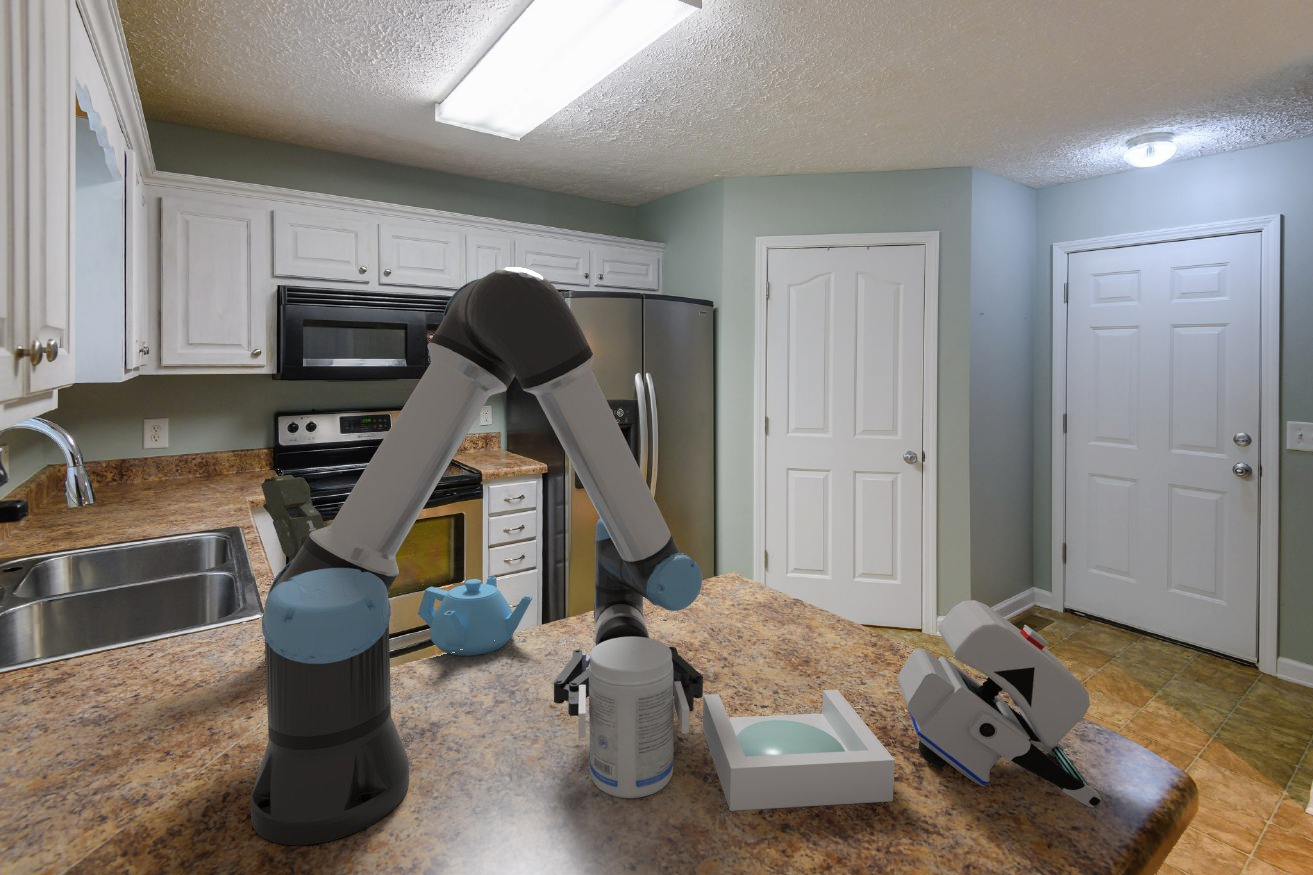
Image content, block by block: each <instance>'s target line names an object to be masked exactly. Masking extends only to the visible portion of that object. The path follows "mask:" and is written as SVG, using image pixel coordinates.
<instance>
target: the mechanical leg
mask: <svg viewBox="0 0 1313 875" xmlns="http://www.w3.org/2000/svg"><path fill="white" fill-rule="evenodd" d="M260 486H261V489H262V494H263V497H264V501H265V503H264V504H263V505H262V507H263V508H264V509H265V511H266V512H267V513H268V514H269V516H270V517H271V519H272V524H273V528H274V530H275V534H276V535H277V540H278V542H279V545H280V547H281V551H282V553H283V554H284V556H285V557H287V558H288V557H289V559H288V560H289V562H288V563H290V562H291V561H292V560H293V559H294V558H295V557H296V555H297V553H298V552H299V550H300V549H301V547H302V545H303V544H304V542H305V541H306V539H307V538H308V536H309V534H310V533H311V532H312V531H315V530H318V529H321V528H324V527H325V524H324V520H323V518H322V514H321V513H320V512H319V510H317V509H316V508H315V506H313V501H312V498H311V488H310V486H309V483H308V482H307V481H306V479H305V478H304V477H302V476H301V477H300V476H298V477H294V476H293V475H292V474H286V475H279V476H278V475H277V476H271V477H270V478H265V479H264V481H263V482H262V483H261V484H260Z"/></svg>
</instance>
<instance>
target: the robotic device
mask: <svg viewBox="0 0 1313 875" xmlns="http://www.w3.org/2000/svg"><path fill="white" fill-rule="evenodd" d="M937 627H938V629H937V630H938V632H939V634H940V635H941V638H942V639H943V640H944V642H945V644H946V645H947V647H948V649H949V650H950V653H952V655H953V657H954V659H956V660H958V661H959V662H960V663H962V664H964V665H966V666H969V667H971V668H972V669H974V670H976V671H978V672H980V673H981V674H982V675H985V676H986V677H987V678H986V681H983V682H982V684H981V683H980V682H978V681H977V680H976V679H974V678H973V677H971V676H970V675H969V674H968V673H966V672H965V671H964V670H962V669H961V668H960V667H958V666H957V665H955V663H953V662H952V661H951V660H950V659H947V658H946V656H944V655H942V656H941V655H940V657H939V658H936V657H935V656H934V655H932V654H931V653H930V652H928V651H927V650H925V649H924V648H921V647H920V648H919V647H918V648H915V649H913V651H912V652H911V653H910V655H909V656H908V658H907V660H906V661H905V663H904V665H903V667H902V668H901V670H900V671H899V672H898V675H897V677H896V679H897V683H898V687H899V689H900V691H901V694H902V697H903V700H904V703H905V706H906V708H907V712H908V714H909V717H910V720H911V722H912V725H913V728H914V730H915V733H916V735H917V739H918V749H919V754H920V755H921V757H923V759H924V760H925V761H926V762H927V763H929V764H931V765H933V766H937V767H939V766H946V765H950V766H952V767H953V768H954V769H956V770H957V771H958V772H959V773H961V774H962V775H963V776H965V777H966V778H967V779H969V780H970V781H972V782H974V783H975V784H977V785H979V786H981V787H983V788H984V787H985V786H986V785H987V784H988V783H989V782H990V773H991V769H992V768H993V767H994V766H995V765H996V763H997V762H998V761H999V760H1001V758H1004V759H1005V760H1007V761H1008V762H1012V763H1014V764H1016V765H1018V766H1019V767H1021V768H1023V769H1025V770H1027V771H1029V772H1030V773H1032V774H1034V775H1036V776H1038V777H1039V778H1042V779H1043V780H1045V781H1047V782H1049V783H1051V784H1052V785H1055V786H1056V787H1058V788H1059V789H1060V790H1062V792H1064V793H1065V794H1067V795H1068V796H1070V797H1071V798H1073V799H1075V800H1076V801H1078V802H1080V803H1082V804H1083V805H1085V806H1086V807H1088V808H1095V806H1098V805H1099V804H1100V803H1101V801H1102V797H1101V795H1100V793H1099V792H1098V791H1097V790H1095V789H1094V788H1092V787H1091V786H1090V785H1089V784H1088V783H1087V781H1086V780H1085V779H1084V777H1083V776H1082V774H1081V773H1080V772H1079V770H1078V769H1077V768H1076V766H1075V764H1073V762H1072V761H1071V759H1069V757H1068V756H1067V755H1066V753H1065V752H1064V750H1065V748H1064V747H1063V745H1062V744H1061V742H1060V741H1062V740H1063V739H1064V737H1066V736H1067V734H1068V733H1070V731H1071V730H1072V729H1073V728H1074V727H1075V726H1076V725H1077V724H1078V723H1079V722H1080V721H1081V720H1082V719H1083V718H1084V717H1085V715H1086V713H1087V712H1088V710H1089V708H1090V706H1091V702H1090V696H1089V695H1090V694H1089V691H1088V690H1087V689H1086V687H1085V686H1084V685H1083V683H1081V681H1080V680H1078V679H1077V678H1076V676H1075V675H1074V674H1073V673H1072V672H1071V671H1070V670H1069V669H1068V668H1067V667H1066V666H1065V665H1064V664H1063V663H1062V662H1061V661H1060V660H1059V659H1058V658H1057V657H1056V656H1055V655H1054V654H1053V653H1052V652H1051V651H1049V650H1048V649H1047V648H1045V647H1046V646H1049V642H1048V641H1047V640H1046V639H1045V638H1044V637H1043V636H1042V635H1040V634H1039V633H1038V632H1036V631H1035V630H1034V629H1032V628H1031V627H1030V626H1029V625H1026V624H1024V625H1023V628H1022V629H1019V628H1018V627H1017V626H1015V625H1014V624H1013V623H1011V622H1010V621H1009V620H1007V619H1006V618H1005V617H1003V616H1002V614H999V613H998V612H997V611H996V610H994V609H993V608H991V607H990V606H988V605H987V604H985V603H983V602H980V601H978V600H975V599H974V600H973V599H972V600H963V601H961V602H959V603H957V604H956V605H955V606H953V607H952V609H950V611H949V612H948V613H947V614H946V615H945V617H943V619H942V620H941V621H940V622H939V624H938V626H937ZM1003 690H1004V692H1006V693H1007V694H1008V695H1009V696H1010V698H1011V699H1012V702H1013V705H1014V706H1015V707H1016V709H1017V711H1018V712H1017V711H1016V710H1015V709H1014V708H1012V707H1011V706H1010V705H1009V704H1007V702H1005V701H1004V700H1003V699H1001V698H1000V697H999V694H1000V693H1002V691H1003ZM1047 754H1048V755H1050V756H1052V757H1054V758H1056V760H1057V761H1058V763H1059V764H1058V763H1057V762H1056V761H1054V760H1053V759H1052V758H1051V757H1050V756H1048V755H1047ZM1061 766H1062V767H1061Z"/></svg>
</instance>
